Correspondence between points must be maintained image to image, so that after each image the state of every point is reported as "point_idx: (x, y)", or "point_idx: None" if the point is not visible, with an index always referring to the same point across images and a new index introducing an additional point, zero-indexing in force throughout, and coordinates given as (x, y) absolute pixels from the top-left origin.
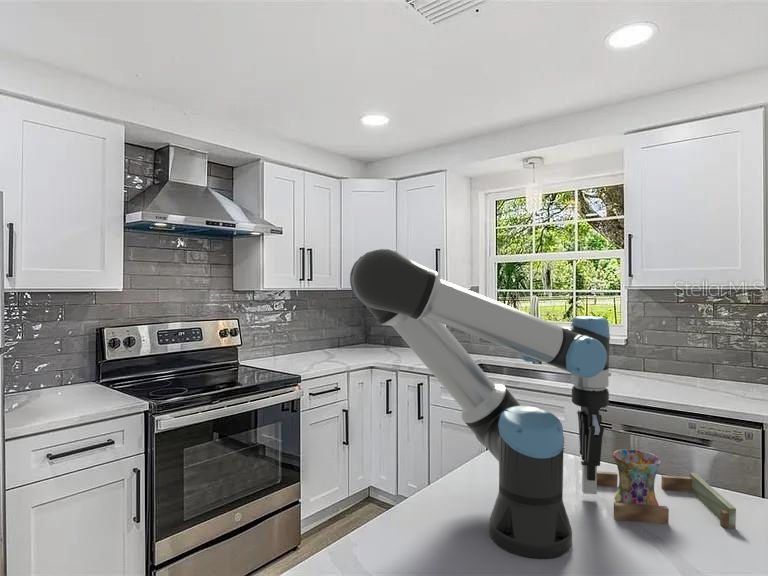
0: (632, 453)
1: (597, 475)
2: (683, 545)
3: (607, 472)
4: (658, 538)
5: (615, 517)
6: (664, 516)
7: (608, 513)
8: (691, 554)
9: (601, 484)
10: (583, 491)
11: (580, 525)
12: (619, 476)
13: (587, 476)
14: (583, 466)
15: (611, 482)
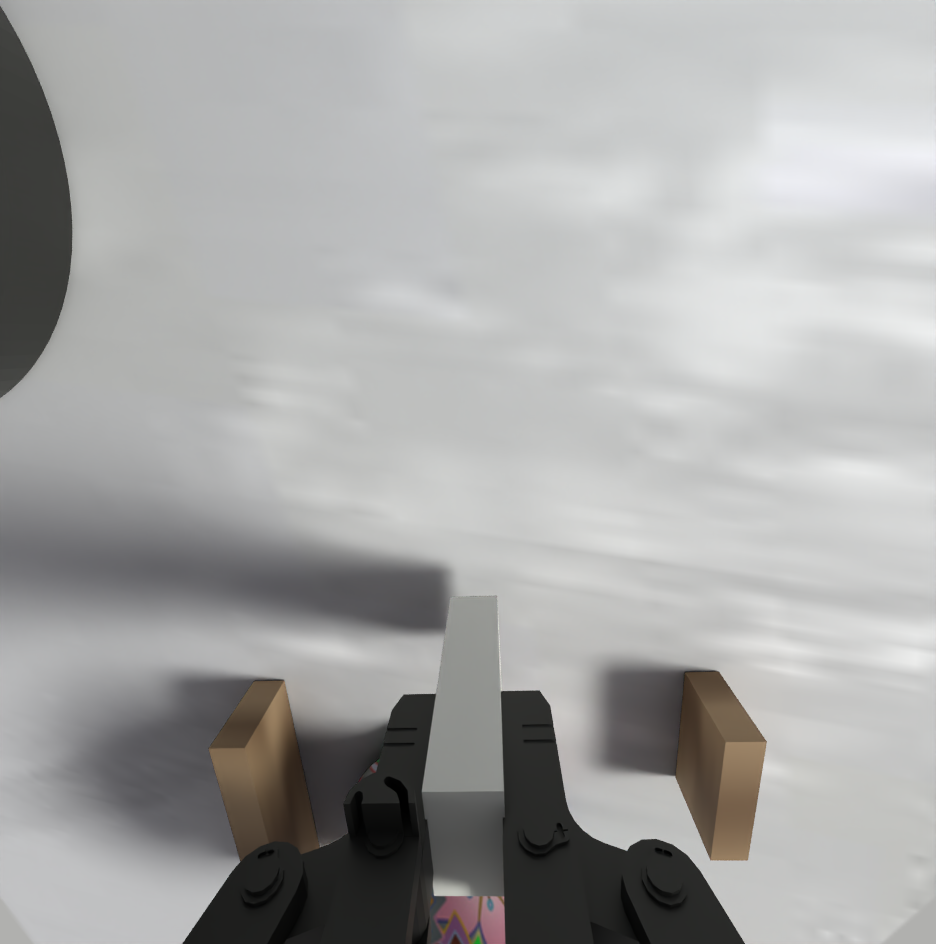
0: None
1: (715, 741)
2: (125, 857)
3: (742, 815)
4: (142, 797)
5: (248, 690)
6: None
7: (318, 665)
8: (65, 859)
9: (685, 713)
10: (457, 602)
11: (114, 501)
12: (439, 923)
13: (421, 713)
14: (444, 761)
15: (689, 775)
